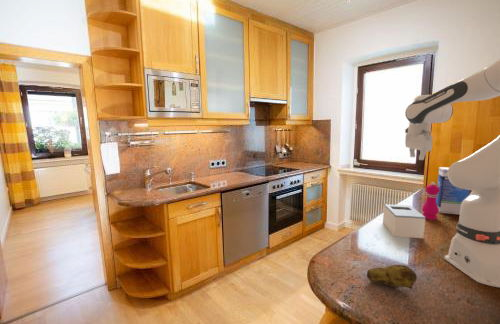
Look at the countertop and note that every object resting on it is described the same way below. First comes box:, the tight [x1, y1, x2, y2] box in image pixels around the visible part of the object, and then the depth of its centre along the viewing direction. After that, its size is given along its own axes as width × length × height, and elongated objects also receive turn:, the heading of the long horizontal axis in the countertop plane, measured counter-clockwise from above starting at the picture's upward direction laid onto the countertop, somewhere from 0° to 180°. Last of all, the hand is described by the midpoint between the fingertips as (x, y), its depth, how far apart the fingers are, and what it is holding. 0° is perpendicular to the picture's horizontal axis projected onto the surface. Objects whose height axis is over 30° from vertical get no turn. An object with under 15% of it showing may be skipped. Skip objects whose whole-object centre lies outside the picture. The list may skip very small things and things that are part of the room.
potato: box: [366, 264, 418, 289], centre depth 78 cm, size 8×13×8 cm, turn 40°
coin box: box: [382, 203, 426, 239], centre depth 119 cm, size 16×12×10 cm
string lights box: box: [436, 166, 470, 216], centre depth 142 cm, size 13×8×26 cm, turn 68°
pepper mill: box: [421, 181, 439, 221], centre depth 134 cm, size 7×7×20 cm
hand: (416, 158), depth 121 cm, fingers open, 8 cm apart
